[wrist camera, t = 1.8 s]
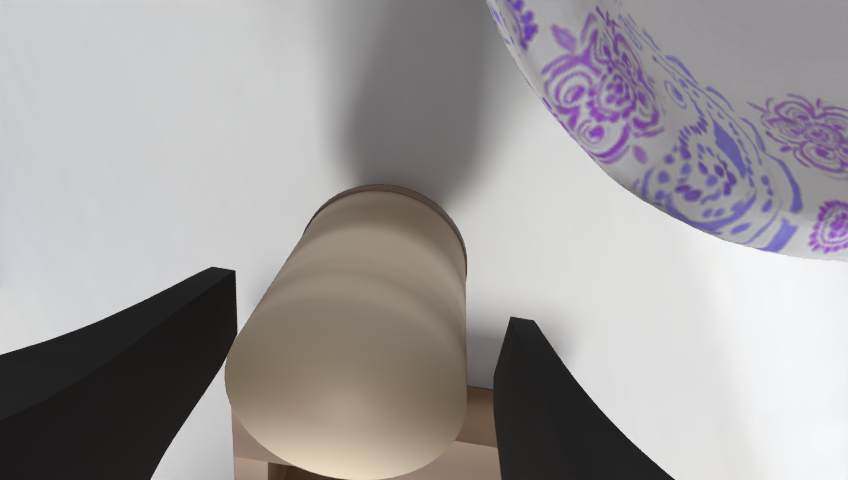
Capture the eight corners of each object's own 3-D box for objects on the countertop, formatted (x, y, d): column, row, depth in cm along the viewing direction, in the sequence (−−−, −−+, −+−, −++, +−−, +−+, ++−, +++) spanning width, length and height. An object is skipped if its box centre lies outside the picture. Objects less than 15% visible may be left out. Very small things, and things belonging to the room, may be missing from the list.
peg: (326, 145, 17) (216, 273, 9) (479, 171, 17) (493, 319, 9) (319, 276, 19) (226, 462, 12) (452, 298, 19) (446, 497, 12)
